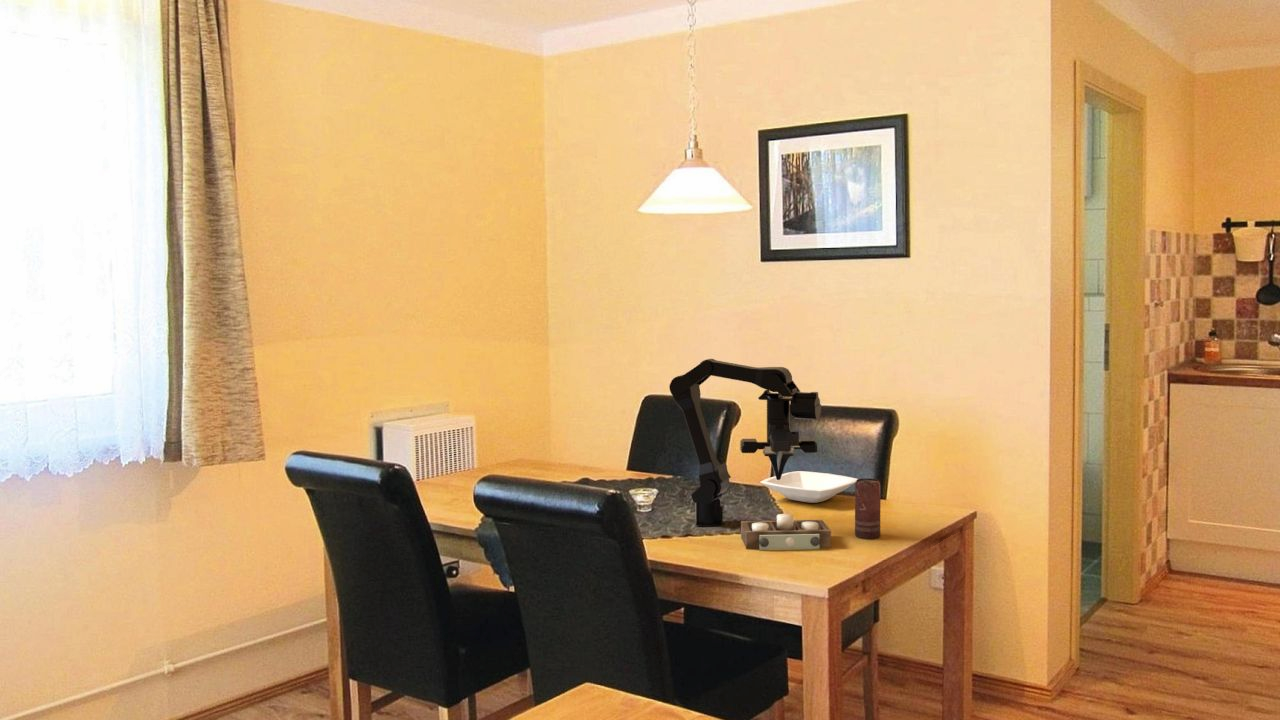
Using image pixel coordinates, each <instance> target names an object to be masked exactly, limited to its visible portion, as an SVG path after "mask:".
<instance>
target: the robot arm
mask: <svg viewBox="0 0 1280 720" xmlns="http://www.w3.org/2000/svg"><path fill="white" fill-rule="evenodd" d="M792 375H793V374H792V373H791V372H790V370H789V369H788V368H786V367H784V366H763V367H761V366H760V367H757V366H756V367H755V366H749V365H743V364H739V363H734V362H732V363H731V362H728V361H721V360H716V359H714V358H708V359H703V360H702V361H701V362H700V363H699V364H697V365H696V366H695V367H693V368H692V369H690V370H689V371H687V372H686V373H685V374H681V375H678V376H677V375H676V376H675V377H673V378H672V380H671V381H670V383H669V386H668V387H669V392H670V394H671V396H672V398H673V400H674V402H675V403H676V405H677V406H678V407H679V408H680V409H681V411H682V413H683V416H684V419H685V422H686V426H687V430H688V433H689V435H690V438H691V441H692V446H693V448H694V451H695V454H696V455H695V456H696V458H697V461H698V481H699V487H698V488H697V489H696V490H695V491H694V492H692V494H691V499H692V502H693V503H695V505H694V506H695V507H694V511H695V513H694V514H695V518H694V524H695V526H696V527H718V526H719V527H721V526H722V523H723V518H724V517H723V516H724V515H723V512H724V511H723V505H722V504H721V499H720V498H722V497H723V493H724V492H726V491H727V489H728V488H729V486H730V479H731V478H732V477H731V475H730V474H729V471H728V465H727V463H726V462H724V463H722V464H721V463H720V461H719V460H718V459H717V456H716V453H715V451H714V447H713V444H712V441H711V438H710V434H709V430H708V429H707V425H706V424H707V423H706V422H705V417H704V415H703V412H702V409H701V389H700V386H701V385H702V384H704V382H705V381H707V380H708V379H709V378H710V377H711V376H712V377H718V378H724V379H729V380H734V381H741V382H746V383H750V384H753V385H756V386H757V387H759V388H761V389H764V391H763V392H762V393H761V394H760V395H759V396H758V400H760V401H761V400H762V401H766V441H757V439H756V438H742V439H741V440H740V443H739V449H740V452H741V453H742V454H755V453H756V452H757V451H758V450H762V454H763V456H764V457H768V458H769V460H770V463H771V467H772V468H773V473H774V476H776V479H777V480H780V479H781V476H782V474H784V473H783V472H784V469H785V466H786V464H787V462H788V460H789V458H790V457H794V455H795V453H794V450H802V452H803V453H805V454H806V453H808V454H810V453H813V454H814V453H818V442H817V441H816V440H815V439H814V438H812V437H806V438H805V437H801V438H800V436H799V435H800V433H799V431H791V428H790V427H791V426H790V425H791V418H790V415H791V416H793V417H794V419H795V420H814V421H819V420H820V418H821V413H822V403H821V399H820V397H819V392H818V391H810V392H804V391H802V392H801V390H800V389H799V387H798V386H797V384H796V382H795V381H794V380H793V376H792ZM778 452H779V456H777V453H778ZM777 457H779V458H777Z"/></svg>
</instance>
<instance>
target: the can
mask: <svg viewBox="0 0 1280 720" xmlns="http://www.w3.org/2000/svg"><path fill="white" fill-rule="evenodd" d="M857 479H858V480H857V481H856V482H855V483H854V535H855V537H856V538H858V539H863V540H875V539H878V538H880V536H881V504H882V503H881V499H882V498H881V493H882V491H881V489H882V488H881V486H882V485H881V482H880V480H879V479H876V478H857Z"/></svg>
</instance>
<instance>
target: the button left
mask: <svg viewBox="0 0 1280 720" xmlns="http://www.w3.org/2000/svg"><path fill="white" fill-rule="evenodd" d="M752 531H769V524H767V523H762V522H758V523H753V524H752Z"/></svg>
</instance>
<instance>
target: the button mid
mask: <svg viewBox="0 0 1280 720" xmlns="http://www.w3.org/2000/svg"><path fill="white" fill-rule="evenodd" d="M794 517H795V516H794V514H791V513H779V514H776V521H777V529H780V530H791V529H793V528H794Z"/></svg>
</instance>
